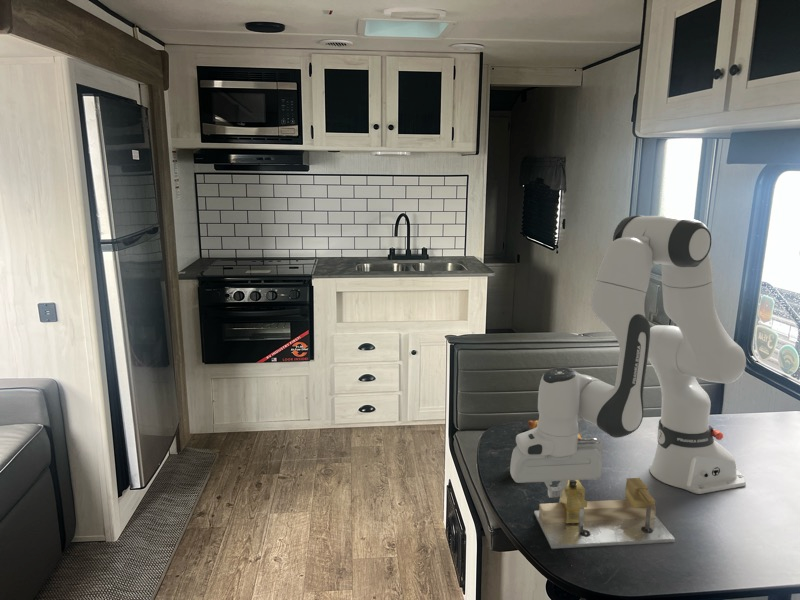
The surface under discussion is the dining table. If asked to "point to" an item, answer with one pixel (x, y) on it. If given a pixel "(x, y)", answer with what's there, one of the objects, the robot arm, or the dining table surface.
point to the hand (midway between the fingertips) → (554, 496)
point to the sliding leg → (574, 503)
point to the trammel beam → (609, 506)
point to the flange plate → (605, 532)
